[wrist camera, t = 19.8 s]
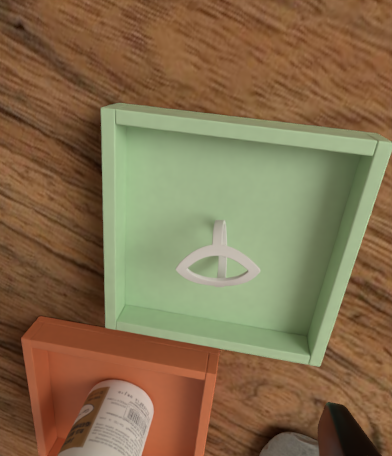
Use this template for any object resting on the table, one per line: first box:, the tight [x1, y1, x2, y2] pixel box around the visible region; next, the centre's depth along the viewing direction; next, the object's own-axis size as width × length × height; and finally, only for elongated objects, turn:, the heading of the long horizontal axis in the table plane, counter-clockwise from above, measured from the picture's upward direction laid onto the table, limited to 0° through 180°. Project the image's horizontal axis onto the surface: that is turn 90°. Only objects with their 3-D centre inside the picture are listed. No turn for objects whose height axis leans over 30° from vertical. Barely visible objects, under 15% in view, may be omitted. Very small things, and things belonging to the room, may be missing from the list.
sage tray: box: [101, 103, 392, 367], centre depth 17 cm, size 11×11×2 cm
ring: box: [175, 220, 260, 287], centre depth 16 cm, size 3×3×3 cm
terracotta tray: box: [21, 316, 220, 456], centre depth 23 cm, size 11×11×2 cm
